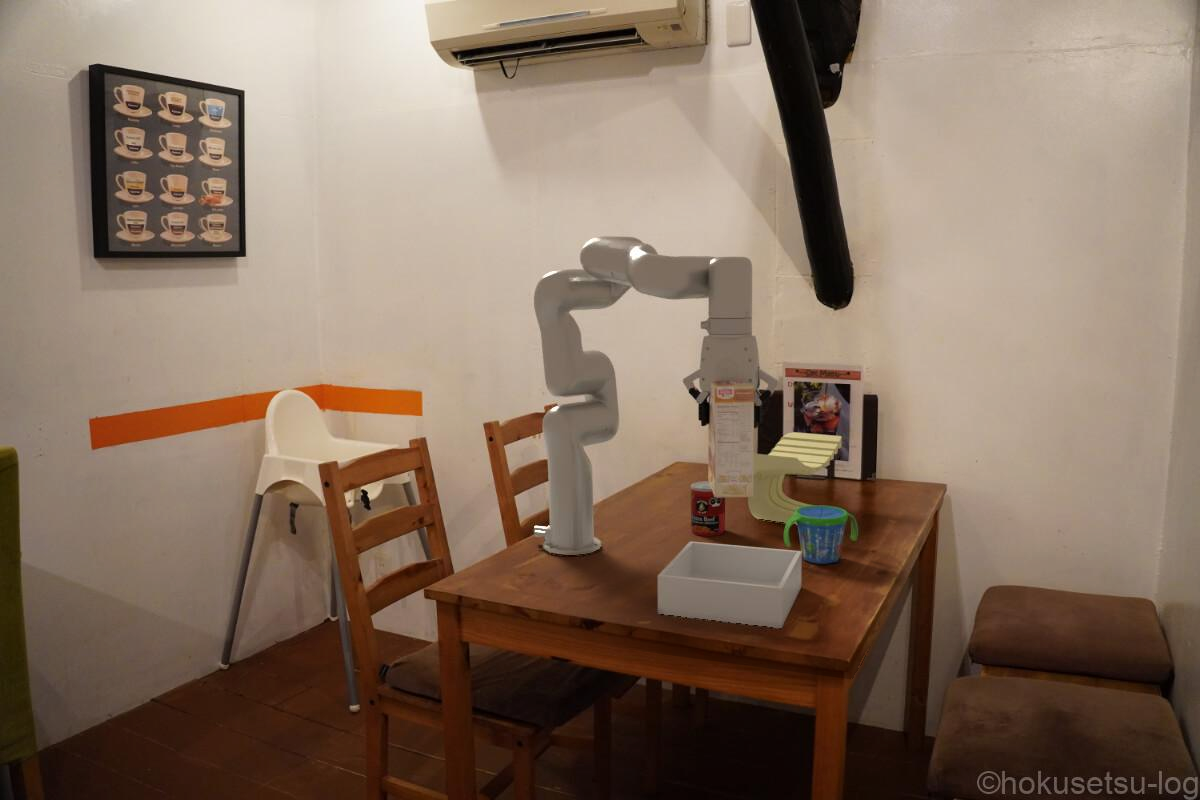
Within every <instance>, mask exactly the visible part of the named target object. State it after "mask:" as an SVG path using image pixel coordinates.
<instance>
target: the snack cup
mask: <svg viewBox="0 0 1200 800" xmlns="http://www.w3.org/2000/svg"><path fill="white" fill-rule="evenodd" d="M812 505H813V506H805V507H801V508H798V509H797V510H796V511H795V514H794V515H793V516H792V517H790V518H789V520H788V521H787V523H785V526H784V530H783V542H784V544H785V546H786V547H787V548H790V547H791V542H790V541H791V540H790V529H791V527H792V526H793V523H794V522H795V521H796V522H797V525H796V526H797V529H798V535H799V537H798V538H799V543H800V551H802V557H803V558H802V559H803V560H804V561H807V562H809V563H813V564H819V565H820V564H821V565H825V564H832V563H837V562H838V560H839V559H840V557H841V553H842V548H843V547H842V546H843V539H844V533H845V527H846V523H847V521H848V518H849V519H850V540H852V541H853V542H856V541H857V540H858V536H859V526H858V522H857V519H856V518H855V516H853V515H852V514H851V513H849V512H848V511H847V510H845V509H843V508H841V507H838V506H833V505H825V504H824V505H823V504H822V505H820V504H819V505H814V504H812Z"/></svg>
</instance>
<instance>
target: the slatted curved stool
mask: <svg viewBox="0 0 1200 800" xmlns="http://www.w3.org/2000/svg"><path fill="white" fill-rule="evenodd" d="M842 437H843V436H842V435H833V434H832V435H831V434H819V433H808V432H807V433H806V432H795V431H792V432H788V433H786V434H785V435H783V436H781V437H780V439H779V441H778V442H777V443H776V444H775V446H774V447H773V448H771V451H770V452H769V453H768V454H762V453H754V496H753V497H747V501H748V502H747V504H748V509H749V511H750V513H751V515H752V516H753V518H755V519H757V520H759V519H764V520H763V521H765V520H771V521H770V522H772V521H776V522H775V523H779V522H784V523H783V524H786V523H787V521H788V520H789V518H790V517H792V516H793V515H794V514H795V511H796V510H797V509H798V508H801V507H805V506H813V505H814V504H808V503H805V502H801V501H797V500H794V499H792V498H790V497H788V496H787V495H786V494H785V493H784V491H783V483H784V478H785V476H786V475H799V476H800V475H802V476H803V475H804V476H812V475H813V474H815V473H817V472H819V471H821V470H823V469H824V468H827V467H828V466H830V465H831V463H830V461H832V460H834V459H835V458H834V457H835V455H836V454H838V453H839V452H838V451H839V449H841V448H842V439H843V438H842ZM777 521H778V522H777ZM793 524H796V525H795V526H798V525H797V522H796V521H795V522H794V523H793Z"/></svg>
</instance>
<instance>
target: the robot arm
mask: <svg viewBox="0 0 1200 800" xmlns="http://www.w3.org/2000/svg"><path fill="white" fill-rule="evenodd" d="M579 260H580V264H581V265H580V266H581V267H582V268H571V269H570V268H568V269H559V270H553V271H550V272H548V273H546V274H545V275H543V276H542V277H541V278H540V280H539V281H538V282H537V284H536V287H535V289H534V293H533V294H534V295H533V307H534V313H535V316H536V320H537V324H538V328H539V332H540V338H541V348H542V349H541V351H542V359H543V360H542V361H543V363H542V364H543V370H544V372H543V373H544V379H545V385H546V389H547V390H548V392H549V394H550V395H552V396H554V397H557V398H572V397H578V396H579V397H580V396H584V401H578V402H570V403H569V402H568V403H563V404H559V405H556V406H554V407H552V408H550V409H549V410H547V412H546V413H545V414H544V416H543V419H542V424H541V425H542V426H541V427H542V436H543V440H544V444H545V449H546V455H547V456H546V457H547V472H548V473H547V474H548V476H547V477H548V505H549V506H548V507H549V509H548V510H549V512H548V513H549V514H548V515H549V516H548V517H549V525H548V526H542V525H535V526H534V527H533V534H534V537H535V538H544V539H545V541H544V542H543V543H542V548H544V549H545V550H547V551H549V552H553V553H557V554H585V553H590V552H593V553H595V552H594V551H596V550H598V549H599V550H600V549H601V548H602V541H601V540H600V539H599V538H597V537H595V532H594V531H595V530H594V485H593V484H594V481H593V465H592V463H591V460H590V458H589V456H588V454H587V453H586V451H585V449H584V447H587V446H592V445H596V444H597V445H598V444H603V443H607V442H609V441H611V440H612V439H614V438H615V436H616V435H617V433H618V430H619V425H620V413H619V402H618V390H617V389H618V388H617V380H616V372H615V368H614V365H613V363H612V361H611V359H610V358H609V356H608V355H607V354H606V353H604V352H603V351H600V350H595V349H593V350H591V349H590V350H584V348H583V344H582V343H583V342H582V333H581V329H580V327H579V325H578V323H577V321H576V320H575V318H574V317H573V315H572V314H571V313H570V312H571V311H585V310H586V311H587V310H588V311H589V310H601V309H607V308H609V307H611V306H613V305H614V304H616V303H617V302H618V301H619V300H620V299H621V298H623V297H624V295H625V294H626V293H627V292H628V291H629V290H630V289H631V288H633V289H634V290H635V291H637V293H641V294H644V295H648V296H651V297H655V298H659V299H660V298H661V299H666V300H672V301H673V300H676V301H677V300H692V299H693V300H694V299H696V300H697V299H708V318H707V319H706V320H705V321H701V322H700V329H701V330H706V332H707V333H708V335H705V336H703V340H702V344H701V352H700V361H699V369H697V370H695V371H693V373H691V374H689V375H688V376H685V377H684V378H683V380H682V382H683V385H684V386H685V388H686V390H687V391H688V393H689V395H690V396H691V397H692V398H693V399H694V400H695V401H696V403H697V404H698V407H697V408H698V411H697V412H698V415H697V416H698V421H699V422H700V423H701V425H700V427H705V426H708V424H709V403H708V397H709V393H711V382H745V383H752V384H753V385H754V429H757V428H758V427H759V426H760V424H762V423H763V404H764V403H765V402H766V401H767V400H768V399H769V398H771V396H772V395H773V394H774V392H775V390H776V388H777V387H778V386H779V384H780V382H779V380H778V379H777V378H775V377H774V376H772V375H770V374H769V373H767V372H766V371H764V370H762V369H761V368H760V357H759V356H760V355H759V348H758V347H759V346H758V342H757V341H758V340H757V337H756V335H754V334H753V263H752V261H751V260H750V258H748V257H745V256H718V257H717V256H706V255H704V256H701V255H699V256H694V255H693V256H691V255H690V256H688V255H687V256H686V255H682V256H670V255H663V254H658V251H657V250H656V249H655V248H654V247H653V246H652V245H650V244H648V243H644V242H643V241H642V240H640V239H638V238H636V237H634V236H609V235H608V236H605V235H603V236H598V237H594V238H592V239H590V240H588V241H587V242H586V243H585V244H584V245H583V247H582V248H581V250H580V254H579ZM698 379H699V381H698V382H699V383H698V385H699V389H700V390H701V391H700V390H699V389H698V387H696V386H695V383H694V381H696V380H698ZM761 381H763V382H764V383H766V384H767V387H766V389H765V390H764V392H762V393H760V391H759V390H758V389H759V388H760V384H761ZM600 547H601V548H600ZM544 549H543V550H544ZM545 550H544V551H545ZM599 550H598V551H599ZM596 552H597V551H596ZM590 554H591V553H590ZM585 555H586V554H585Z"/></svg>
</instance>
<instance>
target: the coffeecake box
mask: <svg viewBox="0 0 1200 800" xmlns="http://www.w3.org/2000/svg"><path fill="white" fill-rule="evenodd" d="M707 402H708V403H709V424H707V429H708V431H707V432H708V436H707V437H708V470H707V471H708V477H707V479H708V481H709V482H710V485H711V488H712V491H713V494H714V497H725V498H748V497H753V496H754V454H755V449H754V446H755V442H754V441H755V428H754V385H753V384H752V383H745V382H711V393H709V397H708V398H707Z"/></svg>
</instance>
